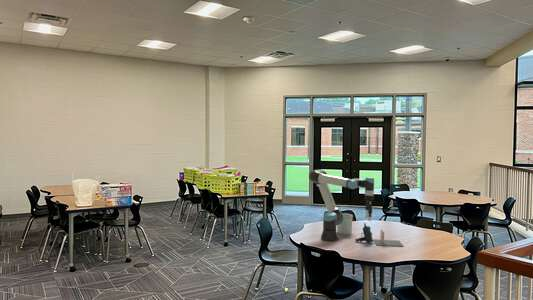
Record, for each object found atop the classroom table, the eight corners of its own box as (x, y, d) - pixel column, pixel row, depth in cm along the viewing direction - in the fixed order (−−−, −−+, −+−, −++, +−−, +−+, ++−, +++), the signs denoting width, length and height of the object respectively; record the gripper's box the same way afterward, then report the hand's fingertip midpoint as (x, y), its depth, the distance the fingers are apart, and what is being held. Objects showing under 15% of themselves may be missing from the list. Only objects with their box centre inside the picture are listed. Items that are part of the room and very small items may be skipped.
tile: (382, 243, 332) (382, 232, 332) (380, 240, 342) (380, 229, 342) (384, 243, 332) (384, 232, 332) (382, 240, 342) (382, 229, 342)
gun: (351, 225, 341) (368, 221, 339) (356, 244, 341) (373, 240, 339) (352, 226, 339) (369, 222, 337) (356, 245, 339) (374, 241, 337)
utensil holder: (350, 231, 381) (350, 213, 381) (354, 234, 366) (354, 216, 366) (335, 231, 381) (335, 213, 381) (338, 234, 366) (339, 216, 366)
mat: (376, 245, 329) (376, 244, 329) (373, 240, 347) (373, 239, 347) (403, 246, 326) (403, 245, 326) (399, 241, 344) (399, 240, 344)
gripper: (376, 197, 329) (375, 222, 329) (371, 193, 354) (370, 216, 354) (367, 196, 329) (366, 221, 330) (362, 192, 354) (361, 216, 355)
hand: (368, 219), depth 342 cm, fingers open, 13 cm apart
